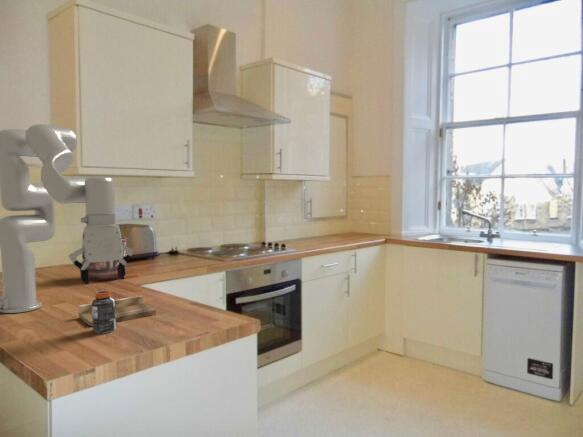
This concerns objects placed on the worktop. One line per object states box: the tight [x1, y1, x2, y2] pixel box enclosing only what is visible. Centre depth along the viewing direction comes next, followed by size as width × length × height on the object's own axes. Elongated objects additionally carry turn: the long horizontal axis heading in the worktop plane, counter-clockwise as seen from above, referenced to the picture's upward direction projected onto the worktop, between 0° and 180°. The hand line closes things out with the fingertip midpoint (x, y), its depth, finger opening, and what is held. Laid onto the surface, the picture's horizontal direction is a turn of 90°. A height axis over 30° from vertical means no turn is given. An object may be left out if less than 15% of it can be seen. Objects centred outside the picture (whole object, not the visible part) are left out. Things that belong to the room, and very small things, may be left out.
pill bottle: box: [91, 290, 116, 334], centre depth 128 cm, size 6×6×11 cm
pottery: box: [87, 236, 127, 282], centre depth 202 cm, size 18×18×18 cm
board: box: [78, 295, 157, 327], centre depth 143 cm, size 20×12×4 cm, turn 130°
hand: (103, 281), depth 127 cm, fingers open, 9 cm apart
